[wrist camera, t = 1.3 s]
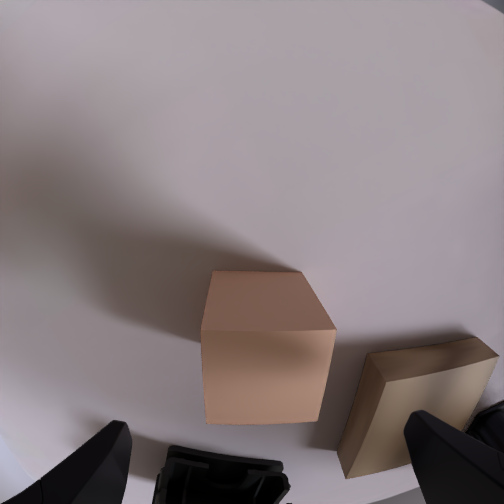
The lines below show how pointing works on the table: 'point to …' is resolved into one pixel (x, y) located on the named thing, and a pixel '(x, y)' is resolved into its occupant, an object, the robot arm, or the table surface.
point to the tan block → (411, 399)
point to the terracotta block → (264, 349)
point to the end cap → (218, 479)
